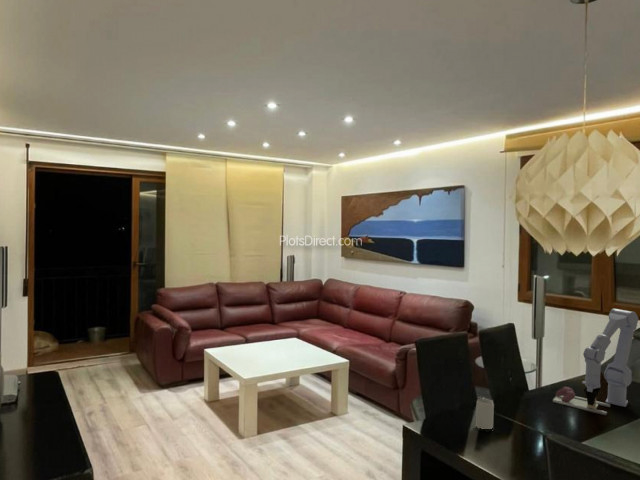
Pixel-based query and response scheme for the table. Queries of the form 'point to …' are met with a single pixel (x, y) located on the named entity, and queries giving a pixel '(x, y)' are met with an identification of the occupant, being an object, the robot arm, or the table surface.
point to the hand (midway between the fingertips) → (591, 403)
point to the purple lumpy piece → (566, 394)
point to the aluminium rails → (583, 406)
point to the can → (484, 413)
